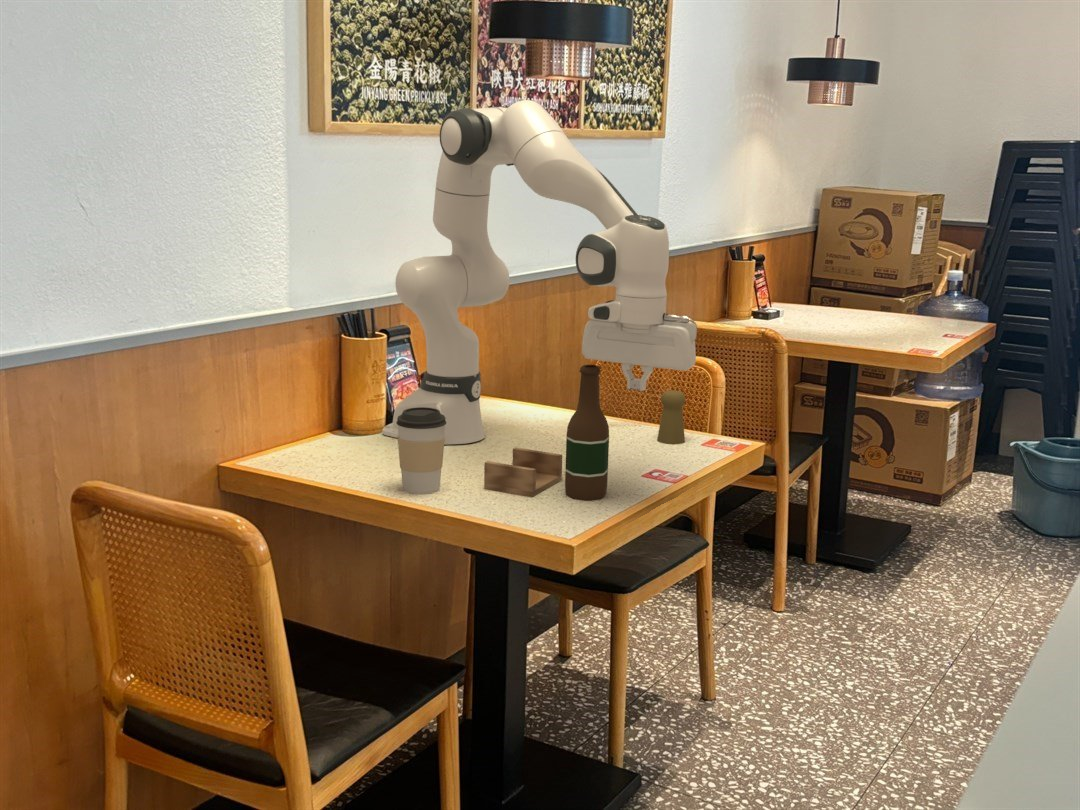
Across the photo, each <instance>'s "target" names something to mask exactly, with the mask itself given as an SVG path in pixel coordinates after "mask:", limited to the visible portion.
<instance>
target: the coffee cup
mask: <svg viewBox="0 0 1080 810" xmlns="http://www.w3.org/2000/svg"><path fill="white" fill-rule="evenodd" d="M396 424H397V425H398V438H397V444H398V445H397V446H398V457H399V458H398V459H399V468H400V471H401V472H400V473H401V484H402V490H403V492H405V493H408V494H413V495H428V494H433V493H434V494H435V493H436V492H438V491H440V489H441V478H442V477H441V476H442V468H443V463H444V451H445V445H444V441H445V435H444V432H445V424H446V421H445V416H444V415H442V414H441V413H440V411H439V410H438V409H435V408H427V407H417V408H409V409H406V410H404V411H403V413H402V415H400V416H398V418H397V422H396Z"/></svg>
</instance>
